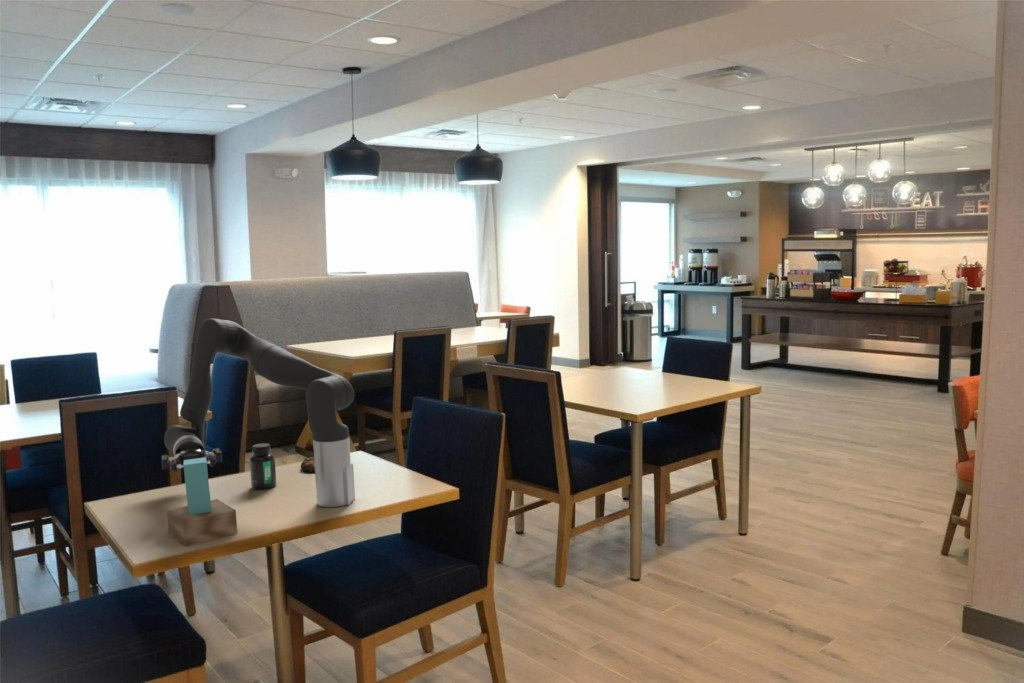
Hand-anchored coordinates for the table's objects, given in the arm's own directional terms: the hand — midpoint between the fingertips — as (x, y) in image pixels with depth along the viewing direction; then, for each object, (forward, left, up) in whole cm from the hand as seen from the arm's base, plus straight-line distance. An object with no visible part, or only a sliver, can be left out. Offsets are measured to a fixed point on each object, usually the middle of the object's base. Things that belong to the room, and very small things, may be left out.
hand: (194, 465), depth 199 cm
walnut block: (-6, +10, -14) cm, 18 cm away
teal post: (-6, +10, -8) cm, 14 cm away
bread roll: (-16, -47, -14) cm, 52 cm away
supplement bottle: (-6, -28, -14) cm, 32 cm away
